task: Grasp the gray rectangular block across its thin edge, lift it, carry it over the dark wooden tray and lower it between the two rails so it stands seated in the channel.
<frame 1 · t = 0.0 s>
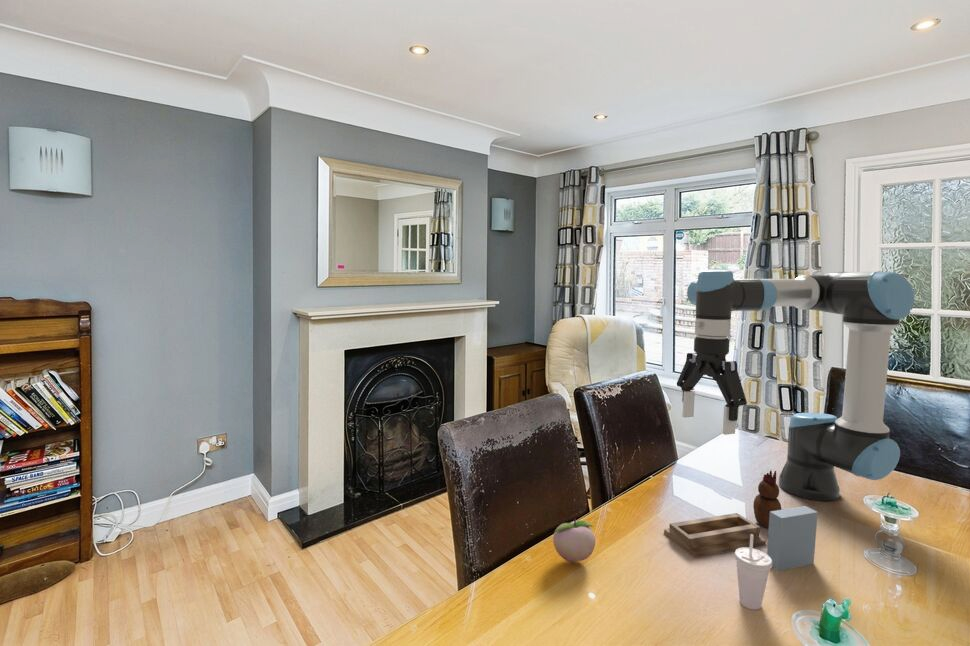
hand: (707, 424, 116), 28 cm above the table, fingers open, 13 cm apart
decorative fruit: (574, 563, 108), on the table
smoothie: (750, 604, 95), on the table
wooden figurine: (766, 525, 125), on the table
gray rectangular block: (789, 563, 108), on the table
wooden tray: (713, 538, 118), on the table
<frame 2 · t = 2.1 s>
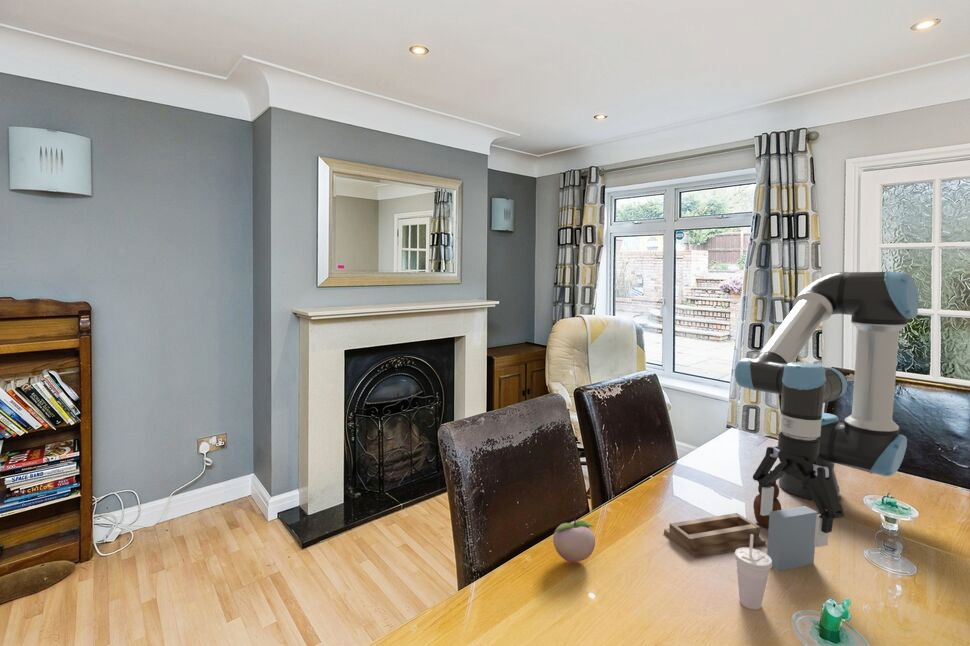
hand: (791, 529, 107), 8 cm above the table, fingers open, 13 cm apart
nothing on the table moved.
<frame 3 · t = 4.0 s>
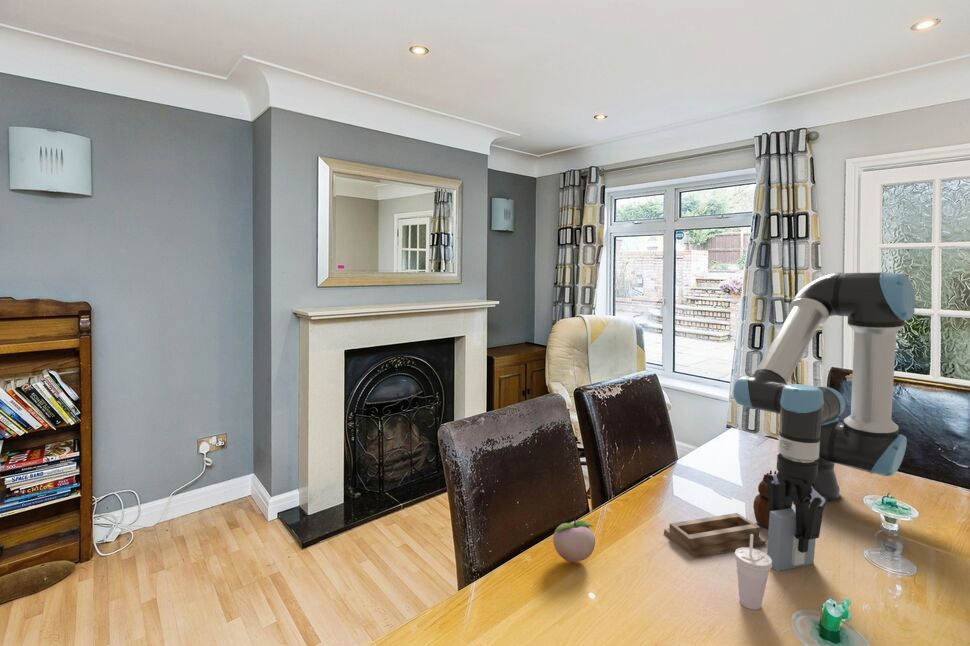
hand: (790, 558, 108), 1 cm above the table, fingers closed on gray rectangular block, 3 cm apart
gray rectangular block: (789, 563, 108), on the table, touching gripper
everything else where it was.
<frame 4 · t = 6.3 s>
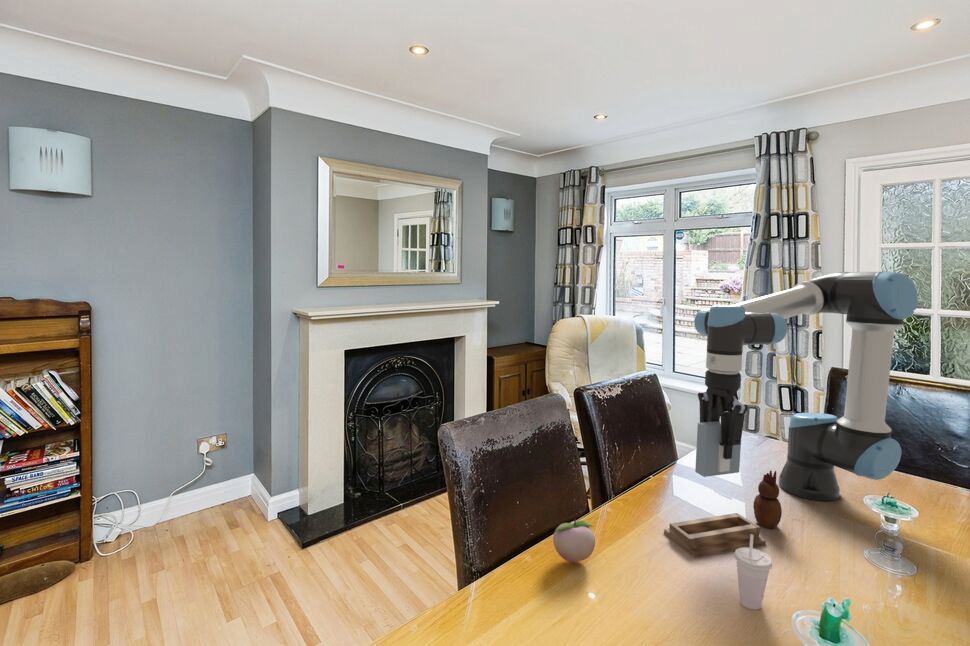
hand: (717, 467, 116), 18 cm above the table, fingers closed on gray rectangular block, 3 cm apart
gray rectangular block: (717, 472, 116), point 17 cm above the table, touching gripper
everything else where it was.
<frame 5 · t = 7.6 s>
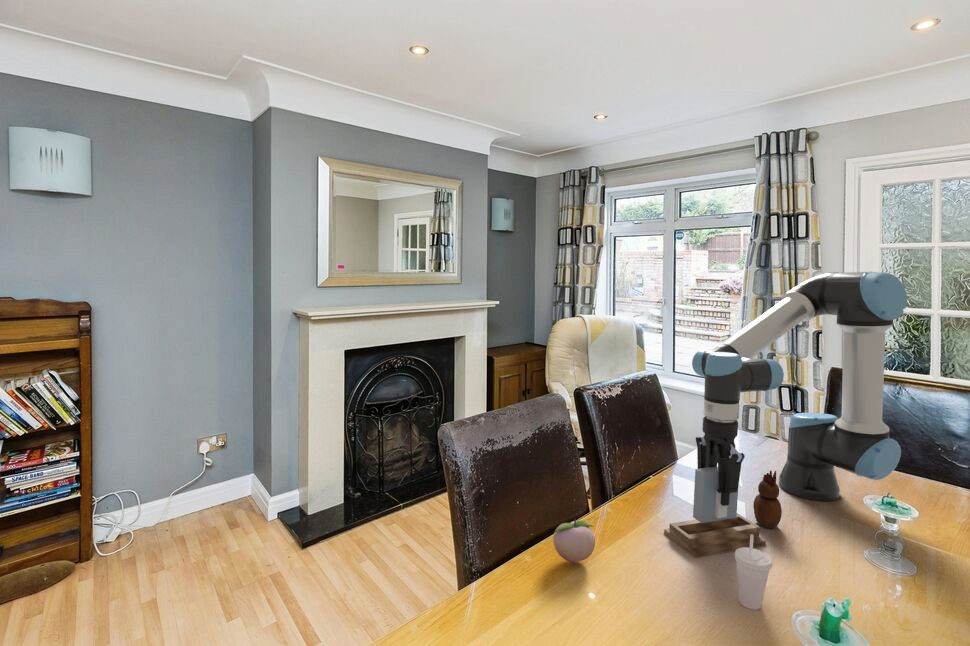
hand: (715, 512, 117), 7 cm above the table, fingers closed on gray rectangular block, 3 cm apart
gray rectangular block: (714, 517, 117), point 5 cm above the table, touching gripper
everything else where it was.
when the fingers open (4 cm above the table, at t = 8.6 s): gray rectangular block drops 2 cm, resting on wooden tray.
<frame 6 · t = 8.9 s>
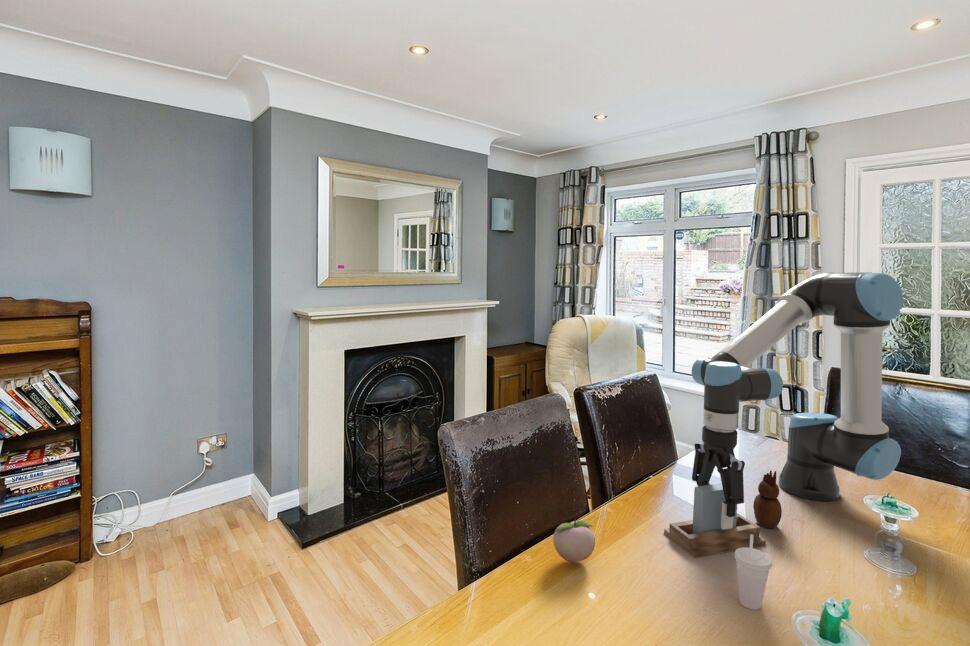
hand: (714, 519, 117), 5 cm above the table, fingers open, 7 cm apart
gray rectangular block: (713, 534, 118), point 1 cm above the table, touching wooden tray
everything else where it was.
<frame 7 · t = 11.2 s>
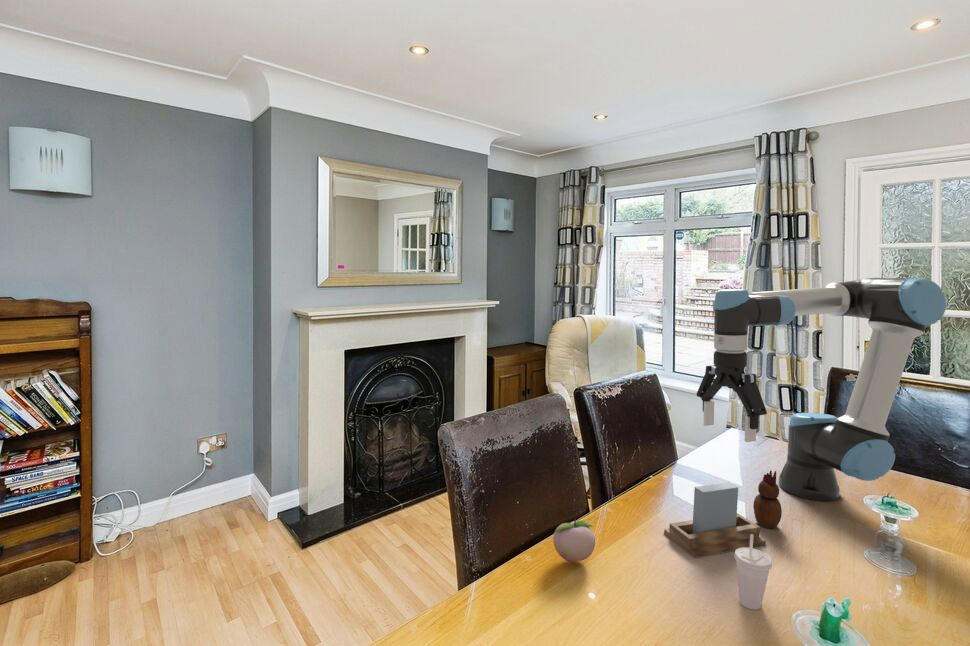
hand: (728, 432, 124), 23 cm above the table, fingers open, 13 cm apart
nothing on the table moved.
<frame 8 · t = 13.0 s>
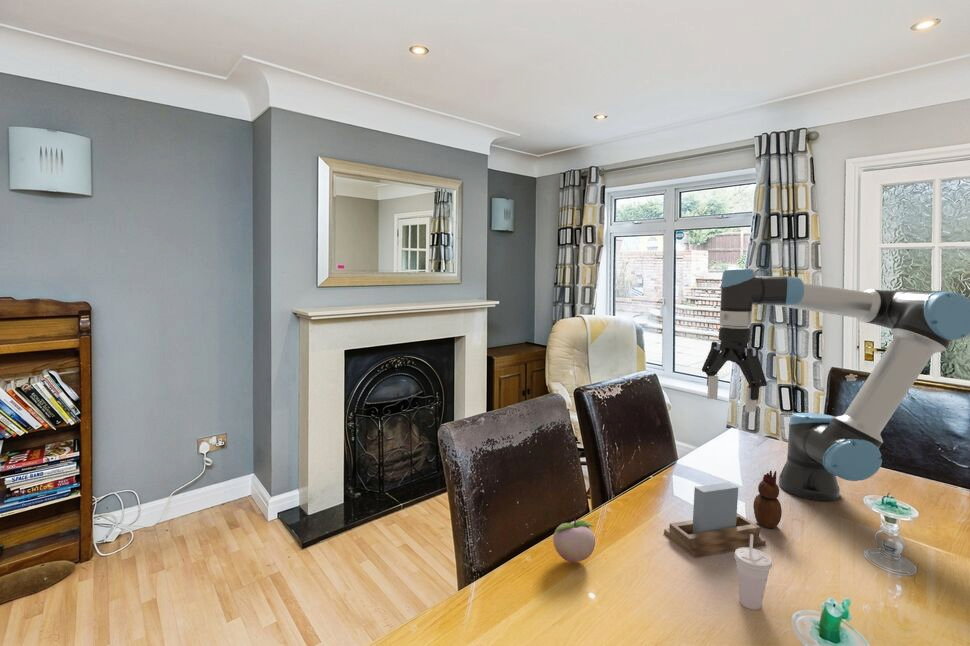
hand: (730, 404, 132), 29 cm above the table, fingers open, 13 cm apart
nothing on the table moved.
at the end: gray rectangular block inside the target area on the wooden tray (0.0 cm from its centre), point 1.0 cm above the wooden tray's base; gray rectangular block tilted 0°; the gripper is holding nothing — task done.
